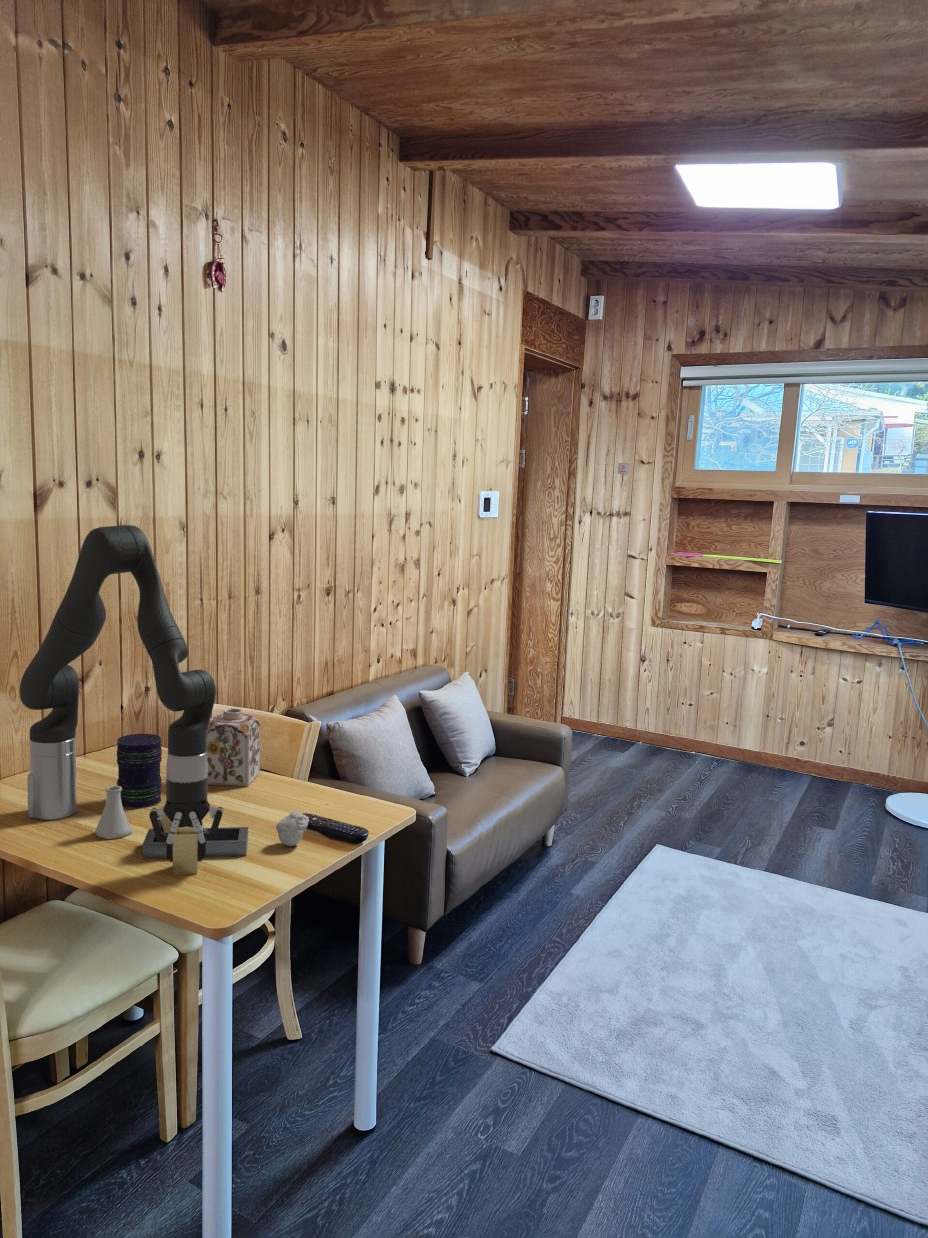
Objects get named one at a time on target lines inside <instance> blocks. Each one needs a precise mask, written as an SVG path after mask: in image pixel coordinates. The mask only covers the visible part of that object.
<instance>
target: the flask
mask: <svg viewBox="0 0 928 1238" xmlns="http://www.w3.org/2000/svg"><path fill="white" fill-rule="evenodd" d="M104 791H105V792H106V799H105V804H104V805H105V806H104V807H103V810H102V814H101V816H100V819H99V821H98V823H97V826H96V828H95V831H94V833H95V835H96V837H98V838H102V839H104V840H105V839H106V840H112V839H113V840H114V839H118V838H123V837H126V836H128V835H131V834H133V830H132V828H131V827H132V826H131V825H130V823H129V820H128V818H127V816H126V812H125V810H124V807H122V802H121V795H120V792H121V791H122V788H121V786H117V785H111V786H108V787H105V790H104Z"/></svg>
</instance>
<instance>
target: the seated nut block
mask: <svg viewBox="0 0 928 1238" xmlns="http://www.w3.org/2000/svg"><path fill="white" fill-rule="evenodd" d="M162 807H164V805H161V807H160V808H162ZM161 823H162V826H163V829H164V832H165V833H168V834H169V831H170V829H171V826H172V822H171V821H170V819H169V818H168V817H167V816H166V814H165V813H163V817H162V819H161ZM159 842H164V841H159Z"/></svg>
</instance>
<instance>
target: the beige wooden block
mask: <svg viewBox="0 0 928 1238" xmlns="http://www.w3.org/2000/svg"><path fill="white" fill-rule="evenodd" d="M198 842H199V840H198V833H195V830H194V827H187V826H186V827H182V828H177V831H176V833H173V862H172V875H174V876H177V875H179V876H180V875H198V873H199V872H198V871H199V869H200V861H198Z"/></svg>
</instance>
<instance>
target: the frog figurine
mask: <svg viewBox="0 0 928 1238" xmlns="http://www.w3.org/2000/svg"><path fill="white" fill-rule="evenodd" d="M309 820H310V819H309V816H307V815H305V814H303V813H302V812H300V811H293V812H291V813H289V814H288V815H286V816H285V817H284V818H282V819H281V820H280V821H278V823H277V824H276V825H275V829H276V832H277V833H278V839H279V841H280V843H282V844H283V845H284V846H287V847H294V846H296V845H297V844H299V843H300V841H301V840H302V838H303V836H304V832H306V831H307V828H308V825H309Z"/></svg>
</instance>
